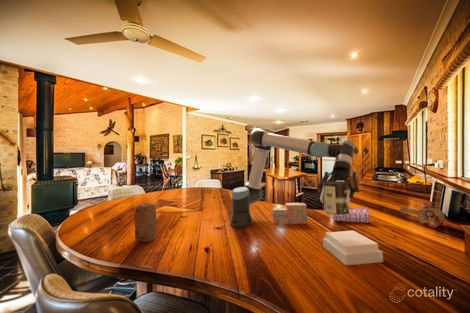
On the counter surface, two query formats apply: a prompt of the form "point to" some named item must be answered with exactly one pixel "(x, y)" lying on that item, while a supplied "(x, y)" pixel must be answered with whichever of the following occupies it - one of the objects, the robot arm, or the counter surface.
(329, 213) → the coffee can
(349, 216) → the pencil case
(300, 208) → the stack of blocks
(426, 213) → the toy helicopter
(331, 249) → the tower base
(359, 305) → the counter surface
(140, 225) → the block
